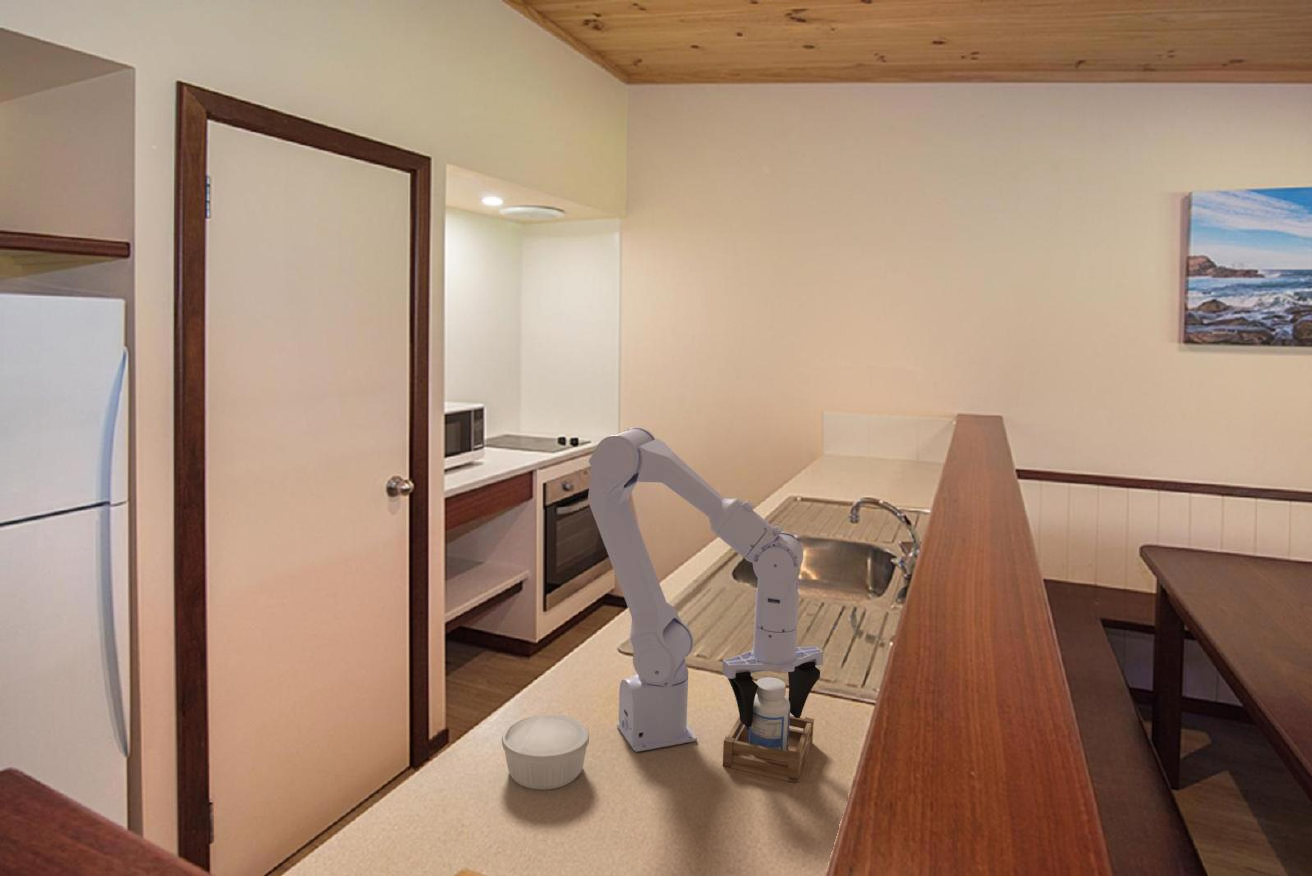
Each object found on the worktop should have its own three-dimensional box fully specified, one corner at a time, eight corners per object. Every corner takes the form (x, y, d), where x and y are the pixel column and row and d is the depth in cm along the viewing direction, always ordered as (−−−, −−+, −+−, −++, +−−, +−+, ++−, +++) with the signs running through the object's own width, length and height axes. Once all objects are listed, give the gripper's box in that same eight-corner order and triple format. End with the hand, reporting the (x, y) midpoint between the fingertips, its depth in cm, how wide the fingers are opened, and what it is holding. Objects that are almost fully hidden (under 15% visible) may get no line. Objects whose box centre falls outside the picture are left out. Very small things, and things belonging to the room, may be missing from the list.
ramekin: (493, 758, 109) (493, 721, 108) (572, 742, 113) (573, 707, 113) (514, 804, 99) (514, 764, 98) (600, 785, 103) (601, 746, 103)
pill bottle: (763, 735, 115) (766, 670, 114) (795, 749, 112) (799, 683, 110) (740, 750, 111) (743, 683, 110) (773, 765, 108) (776, 696, 106)
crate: (796, 783, 105) (798, 757, 104) (722, 765, 108) (723, 740, 108) (812, 742, 115) (813, 718, 114) (744, 728, 119) (745, 704, 118)
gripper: (741, 642, 103) (736, 742, 105) (838, 629, 108) (831, 724, 110) (717, 622, 109) (713, 716, 111) (809, 610, 114) (804, 701, 116)
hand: (770, 719), depth 111 cm, fingers open, 7 cm apart
